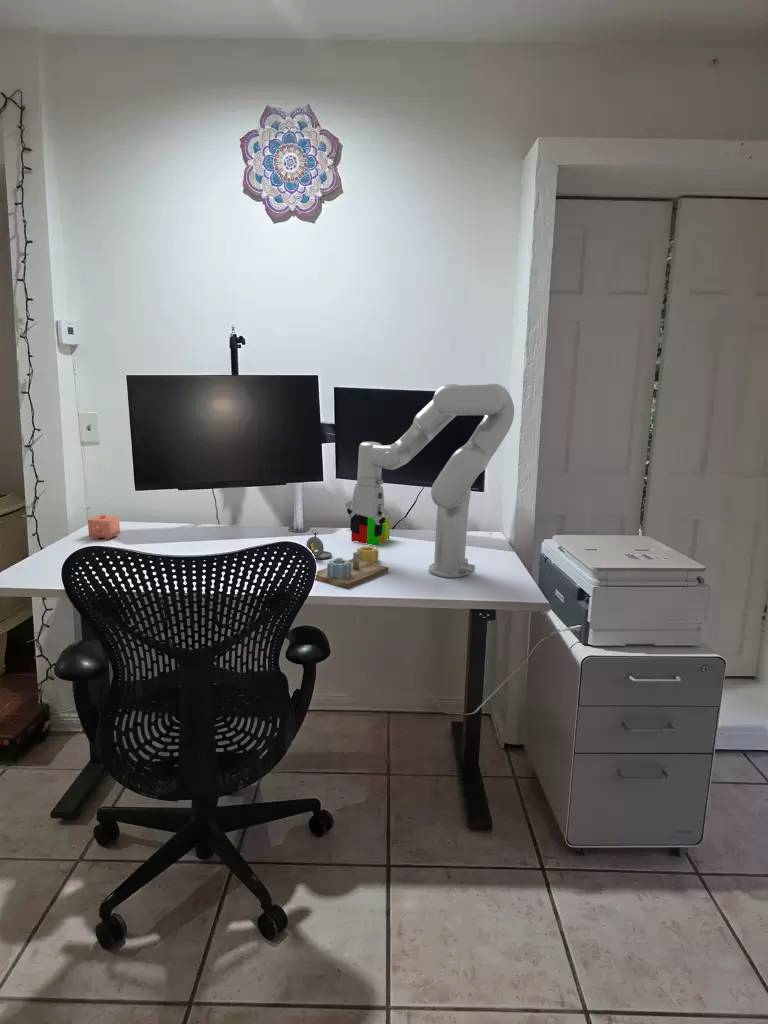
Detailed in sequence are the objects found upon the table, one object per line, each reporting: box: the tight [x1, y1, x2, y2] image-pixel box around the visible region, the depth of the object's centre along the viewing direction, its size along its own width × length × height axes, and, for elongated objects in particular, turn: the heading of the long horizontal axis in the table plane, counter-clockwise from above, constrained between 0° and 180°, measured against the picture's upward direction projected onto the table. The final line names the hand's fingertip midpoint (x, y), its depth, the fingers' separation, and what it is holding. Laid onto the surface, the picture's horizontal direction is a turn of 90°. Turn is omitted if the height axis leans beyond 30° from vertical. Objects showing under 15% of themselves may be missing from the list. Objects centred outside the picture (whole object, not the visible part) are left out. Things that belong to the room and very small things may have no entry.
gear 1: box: [326, 558, 351, 579], centre depth 194 cm, size 7×7×4 cm
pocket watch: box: [305, 529, 333, 560], centre depth 215 cm, size 8×8×10 cm
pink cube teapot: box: [87, 514, 121, 540], centre depth 229 cm, size 8×12×8 cm, turn 174°
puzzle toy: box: [350, 514, 391, 546], centre depth 237 cm, size 10×10×10 cm
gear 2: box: [356, 545, 379, 564], centre depth 214 cm, size 7×7×4 cm
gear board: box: [315, 551, 390, 590], centre depth 199 cm, size 14×20×6 cm
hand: (365, 532), depth 212 cm, fingers open, 9 cm apart
